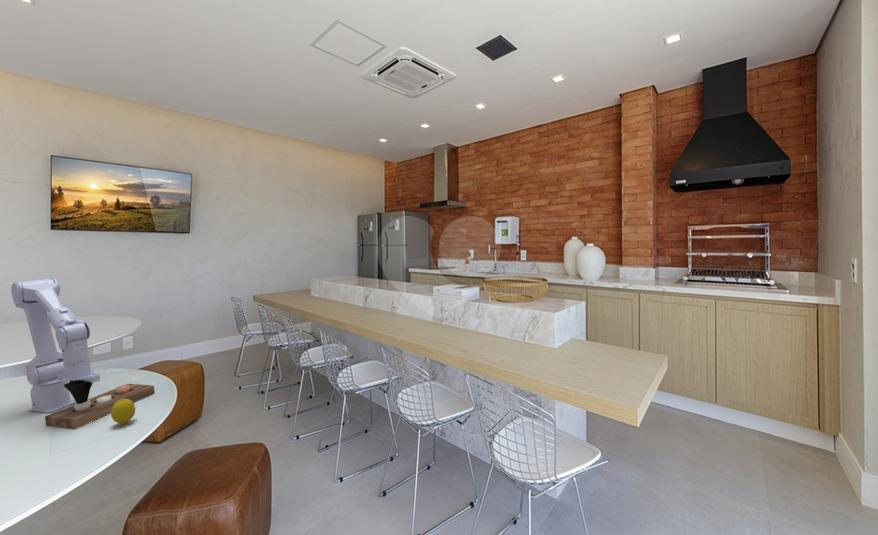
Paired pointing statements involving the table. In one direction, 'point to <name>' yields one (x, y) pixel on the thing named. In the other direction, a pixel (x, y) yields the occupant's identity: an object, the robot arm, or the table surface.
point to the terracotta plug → (122, 389)
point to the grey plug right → (82, 406)
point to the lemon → (123, 411)
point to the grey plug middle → (103, 399)
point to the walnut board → (96, 407)
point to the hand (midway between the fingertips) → (82, 402)
